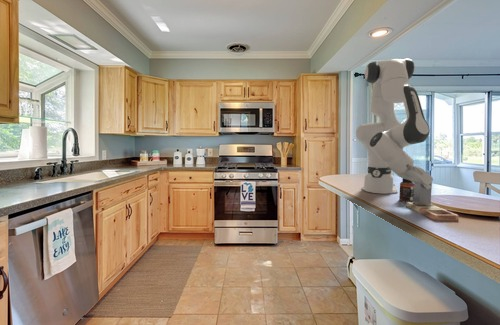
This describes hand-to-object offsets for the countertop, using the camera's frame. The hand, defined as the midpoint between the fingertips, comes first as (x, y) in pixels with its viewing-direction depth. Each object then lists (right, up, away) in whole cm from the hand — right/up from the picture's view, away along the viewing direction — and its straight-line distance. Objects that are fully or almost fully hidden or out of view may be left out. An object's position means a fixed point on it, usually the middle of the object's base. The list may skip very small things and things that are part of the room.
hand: (424, 186), depth 107 cm
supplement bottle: (+1, -9, +14) cm, 17 cm away
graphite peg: (0, -9, +1) cm, 9 cm away
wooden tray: (-1, -10, -5) cm, 11 cm away
